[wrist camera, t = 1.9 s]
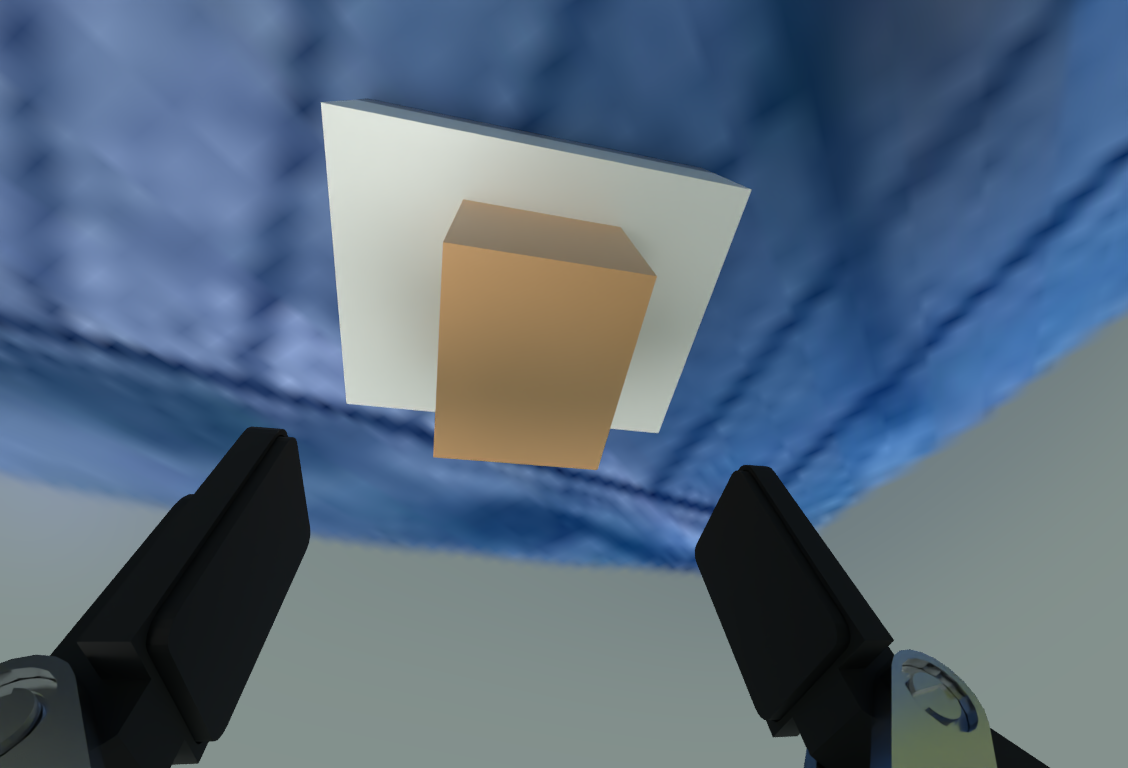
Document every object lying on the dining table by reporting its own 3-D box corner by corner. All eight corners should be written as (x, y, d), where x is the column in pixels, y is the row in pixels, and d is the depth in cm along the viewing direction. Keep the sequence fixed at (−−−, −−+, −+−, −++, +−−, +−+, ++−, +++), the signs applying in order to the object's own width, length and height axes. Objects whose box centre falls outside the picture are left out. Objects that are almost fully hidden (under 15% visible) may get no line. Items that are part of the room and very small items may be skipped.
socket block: (702, 168, 20) (751, 189, 16) (635, 376, 26) (658, 433, 22) (367, 98, 17) (321, 102, 13) (376, 346, 23) (346, 403, 19)
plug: (605, 206, 19) (657, 276, 12) (572, 352, 22) (597, 469, 16) (471, 181, 18) (442, 242, 11) (460, 338, 22) (433, 457, 15)
